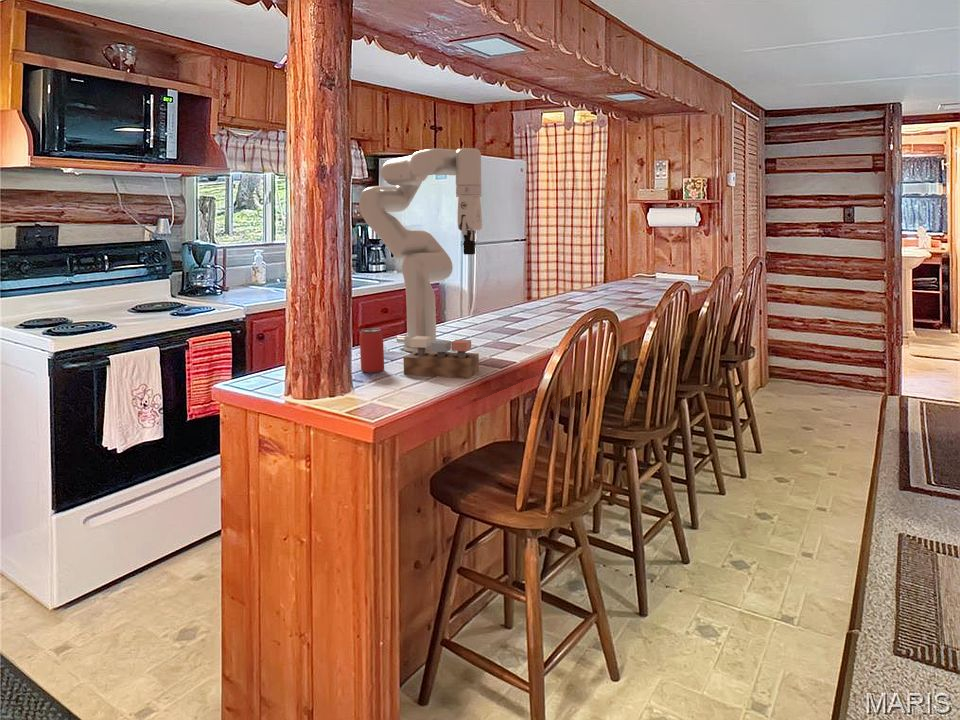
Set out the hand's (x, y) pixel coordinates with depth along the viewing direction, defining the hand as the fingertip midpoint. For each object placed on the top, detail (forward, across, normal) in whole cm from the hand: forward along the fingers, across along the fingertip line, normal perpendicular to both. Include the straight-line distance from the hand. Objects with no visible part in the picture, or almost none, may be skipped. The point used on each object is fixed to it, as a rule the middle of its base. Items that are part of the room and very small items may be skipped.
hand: (469, 254), depth 216 cm
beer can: (+32, -24, +22) cm, 46 cm away
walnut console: (+32, -21, +2) cm, 38 cm away
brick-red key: (+30, -21, -4) cm, 37 cm away
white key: (+30, -21, +8) cm, 37 cm away
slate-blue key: (+31, -21, +2) cm, 37 cm away
